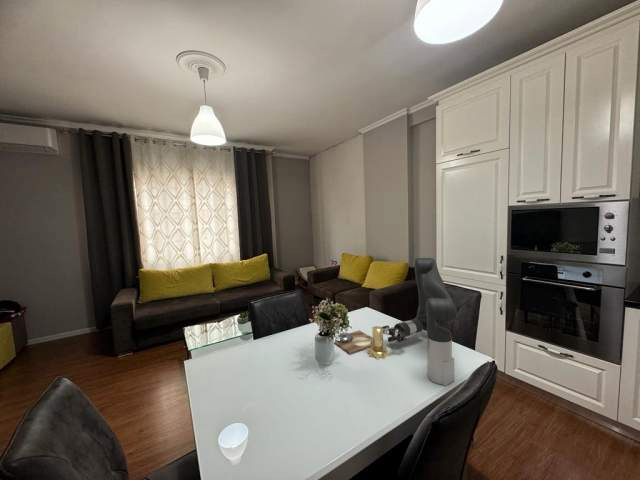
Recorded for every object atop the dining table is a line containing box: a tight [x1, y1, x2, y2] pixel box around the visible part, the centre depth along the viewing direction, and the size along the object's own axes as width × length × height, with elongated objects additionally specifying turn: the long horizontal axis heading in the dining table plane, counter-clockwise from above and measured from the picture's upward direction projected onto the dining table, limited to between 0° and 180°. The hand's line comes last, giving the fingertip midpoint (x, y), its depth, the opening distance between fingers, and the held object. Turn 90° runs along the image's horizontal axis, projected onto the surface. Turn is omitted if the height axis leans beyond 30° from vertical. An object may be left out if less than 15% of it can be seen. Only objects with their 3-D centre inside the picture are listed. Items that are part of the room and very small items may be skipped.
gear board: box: [334, 329, 373, 356], centre depth 140 cm, size 18×20×1 cm
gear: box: [338, 331, 353, 344], centre depth 141 cm, size 10×9×4 cm
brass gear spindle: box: [367, 325, 389, 360], centre depth 126 cm, size 10×10×13 cm
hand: (382, 336), depth 128 cm, fingers open, 8 cm apart
